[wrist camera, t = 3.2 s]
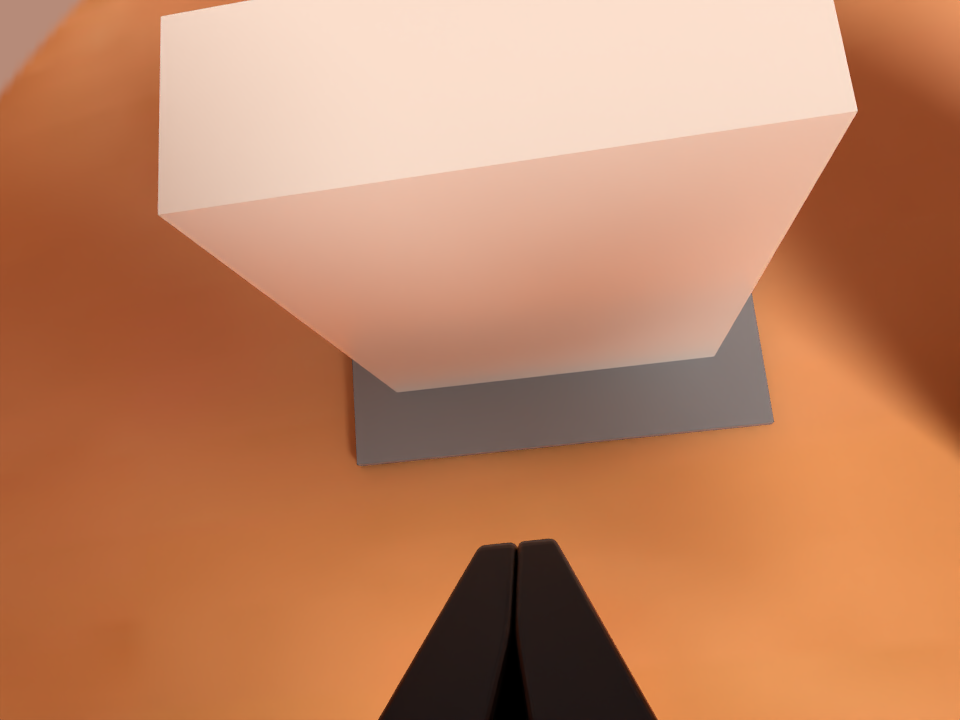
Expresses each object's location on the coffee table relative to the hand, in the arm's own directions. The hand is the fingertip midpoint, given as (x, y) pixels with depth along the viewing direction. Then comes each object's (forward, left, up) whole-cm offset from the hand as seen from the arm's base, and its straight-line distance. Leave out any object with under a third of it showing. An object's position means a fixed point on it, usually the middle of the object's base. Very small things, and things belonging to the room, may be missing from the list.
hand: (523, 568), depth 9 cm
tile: (+5, +1, -8) cm, 10 cm away
